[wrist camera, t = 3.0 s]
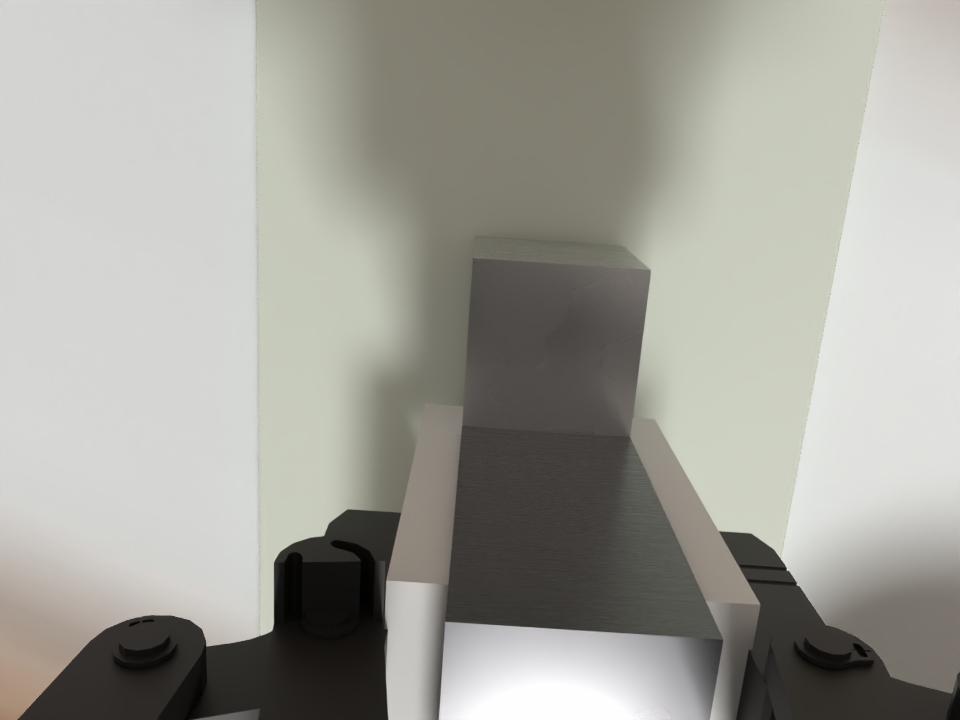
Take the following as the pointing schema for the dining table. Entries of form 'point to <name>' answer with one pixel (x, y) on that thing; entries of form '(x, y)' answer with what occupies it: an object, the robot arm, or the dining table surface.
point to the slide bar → (564, 506)
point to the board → (545, 222)
